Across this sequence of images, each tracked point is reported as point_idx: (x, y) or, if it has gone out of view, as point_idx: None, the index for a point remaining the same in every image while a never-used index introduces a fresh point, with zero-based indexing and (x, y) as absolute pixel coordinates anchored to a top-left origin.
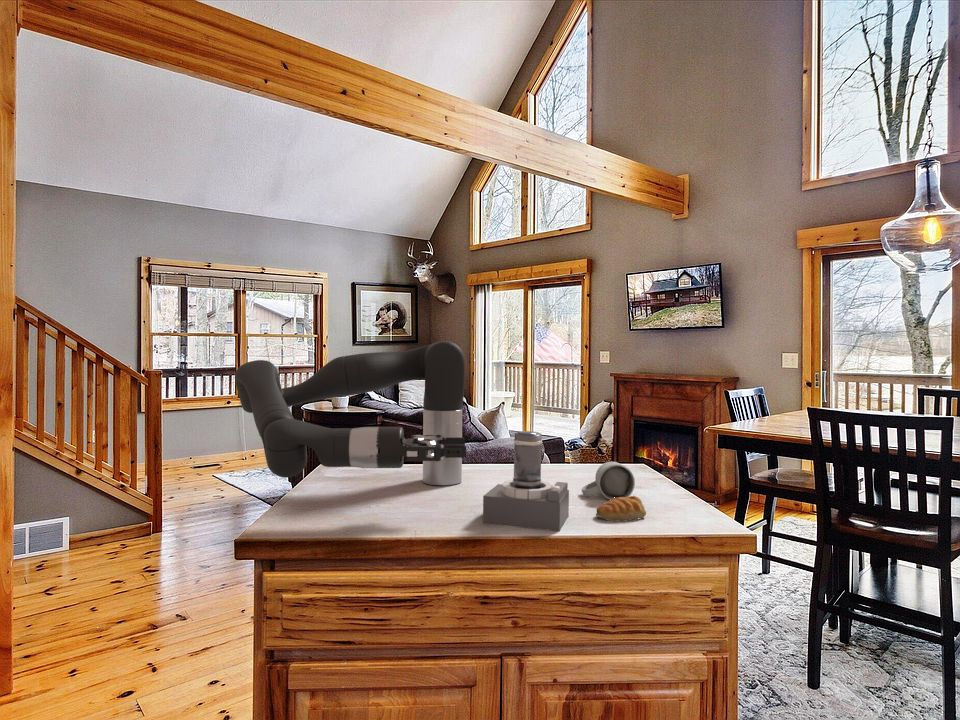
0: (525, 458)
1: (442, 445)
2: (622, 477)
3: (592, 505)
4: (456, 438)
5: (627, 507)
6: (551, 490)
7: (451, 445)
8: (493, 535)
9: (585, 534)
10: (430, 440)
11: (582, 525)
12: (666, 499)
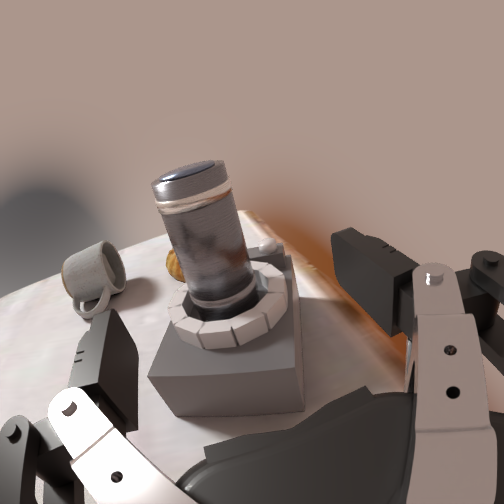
0: (239, 221)
1: (440, 265)
2: (106, 258)
3: (144, 301)
4: (107, 335)
5: None
6: (274, 249)
7: (389, 253)
8: (378, 360)
9: (298, 273)
10: (435, 335)
11: None
12: (124, 259)
